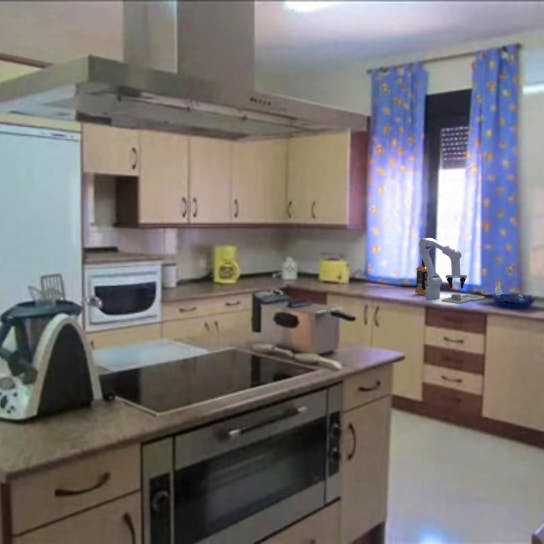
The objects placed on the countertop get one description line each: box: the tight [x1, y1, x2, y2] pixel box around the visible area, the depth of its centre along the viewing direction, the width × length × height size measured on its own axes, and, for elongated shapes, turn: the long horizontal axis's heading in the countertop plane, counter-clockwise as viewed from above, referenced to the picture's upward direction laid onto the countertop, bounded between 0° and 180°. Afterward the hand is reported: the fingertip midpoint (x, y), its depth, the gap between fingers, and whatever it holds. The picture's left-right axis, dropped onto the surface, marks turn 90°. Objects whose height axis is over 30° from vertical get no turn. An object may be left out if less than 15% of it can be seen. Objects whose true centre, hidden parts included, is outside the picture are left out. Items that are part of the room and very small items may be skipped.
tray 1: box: [441, 296, 471, 304], centre depth 413 cm, size 14×14×2 cm
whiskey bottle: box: [414, 258, 428, 296], centre depth 450 cm, size 10×10×32 cm
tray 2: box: [461, 294, 485, 302], centre depth 421 cm, size 14×14×2 cm
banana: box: [494, 280, 523, 297], centre depth 409 cm, size 5×19×15 cm, turn 49°
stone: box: [450, 293, 462, 301], centre depth 413 cm, size 4×4×4 cm
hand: (456, 288), depth 412 cm, fingers open, 7 cm apart
